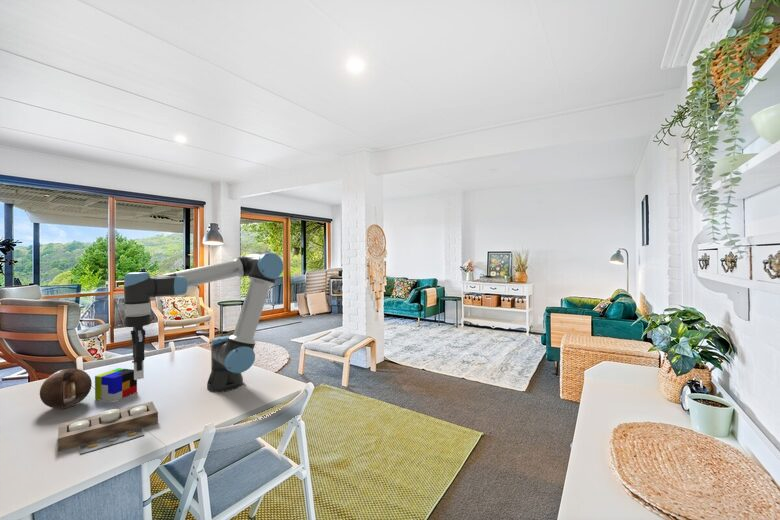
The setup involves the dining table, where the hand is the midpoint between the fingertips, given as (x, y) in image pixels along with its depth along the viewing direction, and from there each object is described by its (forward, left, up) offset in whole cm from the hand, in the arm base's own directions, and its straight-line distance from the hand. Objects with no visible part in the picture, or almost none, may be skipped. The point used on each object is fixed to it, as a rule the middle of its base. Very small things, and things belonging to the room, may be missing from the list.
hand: (138, 378), depth 123 cm
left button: (+11, +11, -15) cm, 22 cm away
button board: (+3, +8, -16) cm, 18 cm away
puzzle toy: (+27, -21, -16) cm, 38 cm away
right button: (0, 0, -15) cm, 15 cm away
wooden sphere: (+38, -10, -16) cm, 42 cm away
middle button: (+6, +6, -13) cm, 16 cm away
